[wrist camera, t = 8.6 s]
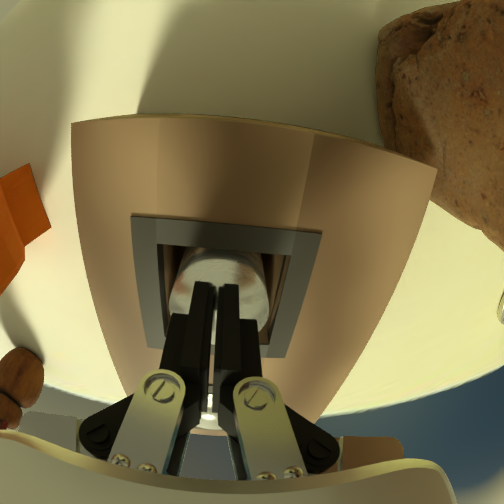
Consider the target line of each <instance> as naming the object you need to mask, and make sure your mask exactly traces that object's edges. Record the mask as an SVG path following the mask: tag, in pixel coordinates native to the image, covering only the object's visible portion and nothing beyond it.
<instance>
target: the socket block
mask: <svg viewBox="0 0 504 504" xmlns="http://www.w3.org/2000/svg"><path fill="white" fill-rule="evenodd" d="M71 157H72V177H73V190H74V201H75V210H76V218H77V225H78V232H79V238H80V244H81V249H82V255H83V260H84V265H85V269H86V274H87V278H88V283H89V287H90V291H91V295H92V299H93V302H94V306H95V309H96V313H97V316H98V320H99V323H100V326H101V329H102V332H103V335H104V338H105V341H106V344H107V347H108V350H109V353H110V356H111V358H112V361H113V364H114V366H115V369H116V371H117V374H118V376H119V379H120V381H121V383H122V386H123V388H124V390H125V393H126V395H127V397H128V396H130V395H132V394H133V393H135V391H136V389H137V387H138V384H139V382H140V380H141V379H142V377H143V376H144V375H146V374H147V373H148V372H151V371H153V370H159V366H160V362H161V357H162V353H163V348H164V344H165V340H166V336H167V331H168V327H169V323H170V319H171V314H170V310H169V300H170V296H171V292H172V289H173V286H174V283H175V279H176V276H177V273H178V270H179V267H180V264H181V260H182V257H183V254H184V251H185V248H186V246H190V247H201V248H212V249H224V250H235V251H246V252H258V253H261V256H262V263H263V269H264V275H265V282H266V289H267V295H268V302H269V316H268V319H267V321H266V323H265V325H264V327H263V328H262V329H261V330H260V331H259V332H258V335H259V345H260V355H261V365H262V375H263V378H266V379H268V380H270V381H272V382H273V383H274V384H275V385H276V386H277V387H278V389H279V391H280V393H281V396H282V399H283V402H284V404H285V405H287V406H288V407H290V408H291V409H292V410H294V411H295V412H297V413H298V414H300V415H301V416H303V417H304V418H306V419H307V420H309V421H310V422H312V423H313V424H314V423H315V422H316V421H317V419H318V418H319V417H320V415H321V414H322V413H323V411H324V410H325V408H326V407H327V406H328V404H329V403H330V401H331V400H332V399H333V397H334V396H335V394H336V393H337V391H338V390H339V388H340V387H341V385H342V384H343V382H344V381H345V379H346V378H347V376H348V374H349V373H350V371H351V370H352V368H353V367H354V365H355V363H356V362H357V360H358V358H359V357H360V355H361V353H362V352H363V350H364V348H365V346H366V345H367V343H368V341H369V339H370V337H371V336H372V334H373V332H374V330H375V328H376V326H377V325H378V323H379V321H380V319H381V317H382V315H383V313H384V311H385V309H386V307H387V305H388V303H389V301H390V299H391V297H392V295H393V292H394V290H395V288H396V286H397V284H398V281H399V279H400V277H401V275H402V272H403V270H404V268H405V265H406V263H407V260H408V258H409V255H410V253H411V250H412V248H413V245H414V243H415V240H416V237H417V235H418V232H419V229H420V226H421V223H422V220H423V217H424V214H425V211H426V208H427V205H428V202H429V199H430V195H431V192H432V188H433V185H434V181H435V178H436V174H437V170H438V169H436V168H434V167H432V166H430V165H427V164H425V163H423V162H420V161H418V160H415V159H413V158H410V157H408V156H405V155H403V154H400V153H398V152H395V151H392V150H389V149H387V148H384V147H381V146H378V145H375V144H372V143H369V142H366V141H362V140H358V139H354V138H350V137H346V136H342V135H338V134H334V133H329V132H325V131H320V130H315V129H310V128H305V127H300V126H294V125H288V124H282V123H276V122H269V121H262V120H254V119H245V118H236V117H225V116H212V115H195V114H131V115H122V116H113V117H106V118H99V119H92V120H86V121H80V122H75V123H71ZM214 352H215V345H213V344H211V354H210V369H209V386H208V394H213V371H214ZM190 433H192V434H203V435H216V436H227V433H226V432H225V431H224V430H223V429H222V430H212V429H205V428H200V427H197V426H196V427H194V428H193V429H191V431H190Z"/></svg>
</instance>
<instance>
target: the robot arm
mask: <svg viewBox="0 0 504 504" xmlns="http://www.w3.org/2000/svg"><path fill="white" fill-rule="evenodd" d="M213 301H214V286H209V282H202V281H195V283H194V288H193V293H192V298H191V303H190V309H189V314H181V313H172V315H171V319H170V323H169V327H168V331H167V336H166V340H165V344H164V348H163V353H162V357H161V362H160V366H159V370H153V371H151V372H148V373H147V374H146V375H144V376H143V377H142V379H141V380H140V382H139V384H138V387H137V389H136V391H135V393H133V394H132V395H130V396H128V397H126V398H124V399H122V400H121V401H119V402H117V403H115V404H113V405H111V406H109V407H107V408H105V409H103V410H102V411H100V412H98V413H96V414H94V415H92V416H90V417H88V418H87V419H78V417H74V416H64V415H56V414H48V413H42V412H35V411H30V412H27V413H25V414H24V415H23V416H22V417H21V420H20V423H19V431H12V430H0V504H457V501H456V498H455V495H454V492H453V489H452V486H451V484H450V482H449V480H448V478H447V476H446V474H445V472H444V471H443V470H442V468H441V467H439V466H438V465H437V464H435V463H434V462H431V461H427V460H423V459H404V451H403V447H402V444H401V443H400V442H399V440H397V439H395V438H393V437H355V436H342V438H334V437H332V436H331V435H330V434H329V433H327V432H325V431H324V430H322V429H321V428H319V427H317V426H316V425H315V424H313V423H312V422H310V421H309V420H307V419H306V418H304V417H303V416H301V415H300V414H298V413H297V412H295V411H294V410H292V409H291V408H290V407H288V406H287V405H285V404H284V402H283V399H282V396H281V393H280V391H279V389H278V387H277V386H276V385H275V384H274V383H273V382H272V381H270V380H268V379H266V378H263V375H262V365H261V355H260V345H259V335H258V325H257V320H256V319H240V310H239V285H238V284H226V283H225V285H224V287H219V291H218V305H217V319H216V335H215V352H214V371H213V395H212V413H218V426H220V427H221V428H222V429H223V430H224V431H225V432H226V433H227V438H228V443H229V448H230V453H231V458H232V463H233V468H234V472H235V476H236V481H230V480H208V479H195V478H184V477H179V476H180V472H181V468H182V464H183V459H184V455H185V452H186V448H187V444H188V440H189V436H190V431H191V429H193V428H194V427H196V426H197V425H199V424H200V419H201V412H207V405H208V386H209V369H210V354H211V339H212V320H213ZM498 319H499V321H500V322H501V323H502V324H504V294H503V297H502V299H501V302H500V305H499V308H498Z"/></svg>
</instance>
